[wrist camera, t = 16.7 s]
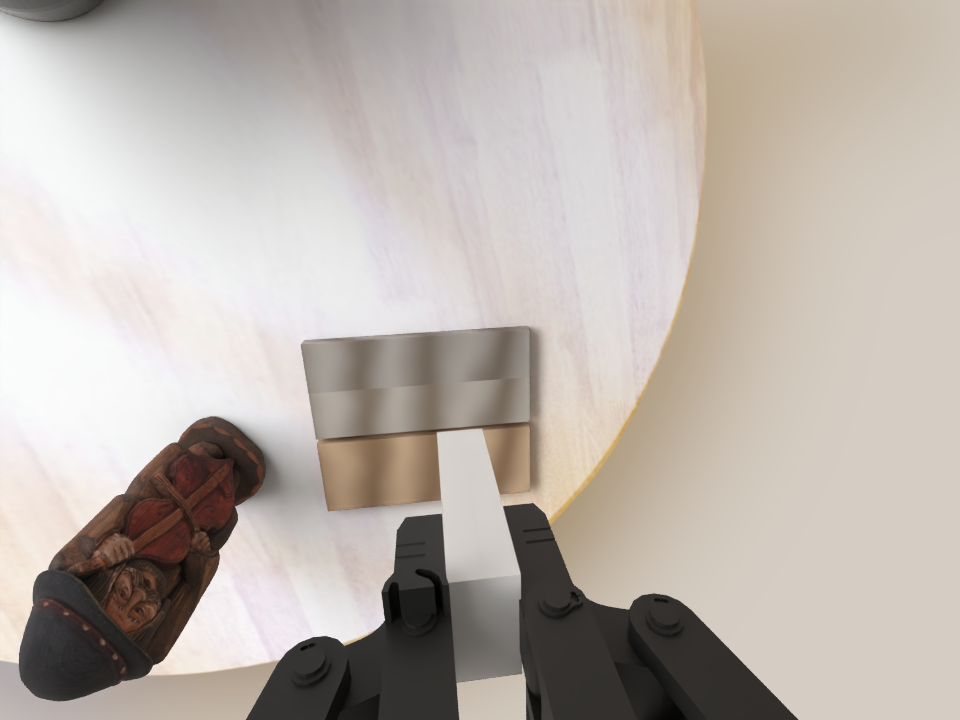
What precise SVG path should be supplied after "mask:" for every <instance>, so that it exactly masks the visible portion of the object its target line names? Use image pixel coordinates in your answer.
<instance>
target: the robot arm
mask: <svg viewBox="0 0 960 720" xmlns="http://www.w3.org/2000/svg"><path fill="white" fill-rule="evenodd" d="M102 1H103V0H0V11H2V12H5V13H7V14H10V15H13V16H17V17H20V18H24V19H30V20H37V21H59V20H65V19H70V18H73V17H77V16H79V15H82V14H84V13H86V12H88V11H90V10H91V9H93V8H94V7H96V6H97V5H99V4H100V3H101V2H102ZM437 442H438V457H439V472H440V488H441V503H442V514H435V515H425V516H416V517H406V518H405V519H404V521H403V522H402V524H401V526H400V527H399V529H398V530H397V538H396V552H395V565H394V573H393V574H392V575H391V576H390V578H389V579H388V580H387V581H386V582H385V584H384V587H383V590H382V600H383V608H384V616H385V621H384V623H383V624H382V625H381V626H380V627H379V628H378V629H377V630H376V631H374V632H373V633H372V634H370V635H368V636H366V637H365V638H363V639H361V640H358V641H356V642H353V643H351V644H349V645H346V646H344V645H343V644H342V643H341V642H340V641H339V640H338V639H334V638H331V637H327V636H322V637H313V638H310V639H308V640H305V641H303V642H300V643H298V644H297V645H296V646H294V647H293V648H292V649H290V650H289V651H288V652H287V653H286V654H285V655H284V656H283V658H282V659H281V660H280V661H279V663H278V664H277V666H276V668H275V670H274V671H273V673H272V675H271V676H270V678H269V680H268V682H267V684H266V686H265V687H264V689H263V691H262V693H261V695H260V696H259V698H258V700H257V701H256V703H255V705H254V707H253V708H252V710H251V712H250V714H249V715H248V717H247V719H246V720H459V712H458V699H457V686H456V683H458V682H465V681H473V680H480V679H487V678H495V677H502V676H509V675H516V674H522V664H523V668H524V673H525V677H526V720H798V719H797V718H796V717H795V716H794V715H793V714H792V713H791V712H790V711H789V710H788V709H787V708H786V707H785V706H784V705H783V704H782V703H781V701H780V700H779V699H778V698H777V697H776V696H775V695H774V694H773V693H772V692H771V691H770V690H769V689H768V688H767V687H766V686H765V685H764V684H763V683H762V682H761V681H760V680H759V679H758V678H757V677H756V676H755V675H754V674H753V673H752V672H751V671H750V670H749V669H748V668H747V667H746V666H745V665H744V664H743V663H742V662H741V661H740V660H739V658H738V657H737V656H736V655H735V654H734V653H733V652H732V651H731V650H730V649H729V648H728V647H727V646H726V645H725V644H724V643H723V642H722V641H721V640H720V639H719V638H718V637H717V636H716V635H715V634H714V633H713V632H712V631H711V630H710V629H709V628H708V627H707V626H706V625H705V624H704V623H703V622H702V621H701V620H700V619H699V618H698V617H697V616H696V615H695V614H694V612H693V611H692V610H690V609H689V608H688V607H687V606H685V605H684V604H683V603H681V602H680V601H679V600H676V599H674V598H671V597H669V596H667V595H660V594H648V595H642V596H640V597H639V598H638V599H636V600H634V601H633V603H632V605H631V607H630V609H629V610H626V609H620V608H614V607H608V606H604V605H600V604H597V603H595V602H593V601H590V600H589V599H587V598H586V597H585V595H584V594H583V592H582V591H581V590H580V589H578V588H577V587H576V586H574V584H573V583H572V581H571V578H570V576H569V573H568V571H567V568H566V565H565V563H564V560H563V558H562V555H561V553H560V550H559V548H558V545H557V543H556V541H555V538H554V535H553V532H552V530H551V528H550V525H549V522H548V520H547V517H546V515H545V513H544V512H542V511H541V510H540V509H539V508H538V507H537V506H536V505H535V504H534V503H531V504H521V505H511V506H503V505H502V502H501V498H500V494H499V490H498V487H497V483H496V479H495V475H494V471H493V468H492V464H491V460H490V456H489V453H488V449H487V445H486V441H485V437H484V434H483V430H482V429H470V430H458V431H446V432H437Z"/></svg>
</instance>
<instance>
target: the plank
mask: <svg viewBox="0 0 960 720" xmlns="http://www.w3.org/2000/svg"><path fill="white" fill-rule="evenodd" d="M470 429H482V430H483V434H484V437H485V441H486V445H487V449H488V453H489V456H490V460H491V464H492V468H493V471H494V475H495V479H496V483H497V487H498V490H499V494H507V493H517V492H527V491H530V426H529V424H528V422H516V423H504V424H492V425H480V426H469V427H457V428H445V429H433V430H421V431H409V432H398V433H386V434H374V435H362V436H350V437H339V438H327V439H319V441H318V444H317V448H318V454H319V460H320V466H321V472H322V478H323V484H324V491H325V497H326V503H327V509H328V511H335V510H345V509H355V508H366V507H376V506H386V505H396V504H406V503H416V502H426V501H436V500H441V488H440V472H439V457H438V442H437V432H446V431H458V430H470Z"/></svg>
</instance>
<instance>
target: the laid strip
mask: <svg viewBox="0 0 960 720" xmlns="http://www.w3.org/2000/svg"><path fill="white" fill-rule="evenodd" d="M301 350H302V356H303V362H304V368H305V374H306V380H307V386H308V393H309V399H310V405H311V411H312V417H313V423H314V429H315V435H316V439H327V438H339V437H350V436H362V435H374V434H386V433H398V432H409V431H421V430H433V429H445V428H457V427H469V426H480V425H492V424H504V423H516V422H528V421H530V330H529V328H528V327H527V326H519V327H504V328H488V329H473V330H457V331H442V332H426V333H411V334H396V335H380V336H365V337H349V338H334V339H318V340H304V341H303V343H302V344H301Z"/></svg>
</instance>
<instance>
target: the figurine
mask: <svg viewBox="0 0 960 720" xmlns="http://www.w3.org/2000/svg"><path fill="white" fill-rule="evenodd" d="M264 478H265V463H264V459H263V456H262V453H261V451H260V450H259V449H258V448H257V447H256V446H255V445H254V444H253V443H252V442H251V441H250V440H249V439H248V438H247V437H246V436H245V435H244V434H242V433H241V432H240V431H239V430H238V429H237V428H236V427H235V426H233V425H232V424H230V423H229V422H227V421H225V420H223V419H220V418H217V417H207V418H203V419H200V420H198V421H196V422H195V423H193V424H192V425H191V426H190V427H189V428H188V429H187V430H186V431H185V432H184V433H183V434H182V436H181V437H180V439H179V441H178V443H171V444H169V445H168V446H167V447H165V448H164V449H163V450H162V451H161V452H160V453H159V454H158V455H157V456H156V457H155V458H154V459H153V460H152V461H150V462H149V463H148V464H147V465H146V466H145V467H144V468H143V470H142V471H141V472H140V473H139V474H138V475H137V476H136V477H135V478H134V480H133V481H132V483H131V484H130V486H129V487H128V489H127V491H126V492H125V494H121V495H118V496H116V497H115V498H114V499H113V500H112V501H111V502H110V503H109V504H108V505H107V506H105V507H104V508H103V509H102V510H101V511H100V512H99V513H98V514H97V515H96V516H95V517H94V518H93V519H92V520H91V521H90V522H89V523H88V524H87V525H86V526H85V527H84V528H83V529H82V530H81V531H80V532H79V533H78V534H77V535H76V536H75V537H74V538H73V539H72V540H71V541H70V542H68V543H67V544H66V545H65V546H64V547H63V548H62V549H61V550H60V551H59V552H58V553H57V554H56V555H55V556H54V558H53V559H52V561H51V563H50V565H49V568H48V570H47V571H44V572H42V573H40V574H39V575H38V576H37V578H36V580H35V583H34V587H33V604H34V605H33V607H32V611H31V614H30V617H29V619H28V622H27V625H26V628H25V631H24V635H23V639H22V643H21V646H20V653H19V671H20V677H21V680H22V682H23V683H24V685H25V686H26V687H27V688H28V689H29V690H30V691H31V692H32V693H33V694H34V695H35V696H37V697H39V698H42V699H47V700H52V701H68V700H73V699H76V698H80V697H84V696H87V695H90V694H92V693H94V692H97V691H100V690H103V689H105V688H108V687H110V686H115V685H117V684H119V683H120V682H121V681H127V680H133V679H138V678H142V677H144V676H145V675H147V674H148V673H149V672H150V670H151V669H152V667H153V665H155V664H158V663H160V662H161V661H163V660H164V659H165V657H166V656H167V654H168V653H169V651H170V650H171V648H172V647H173V645H174V644H175V642H176V640H177V639H178V637H179V636H180V634H181V632H182V631H183V629H184V627H185V626H186V624H187V622H188V620H189V619H190V617H191V615H192V613H193V612H194V610H195V608H196V606H197V604H198V603H199V601H200V599H201V597H202V596H203V594H204V592H205V591H206V589H207V587H208V586H209V584H210V582H211V580H212V579H213V577H214V575H215V573H216V571H217V568H218V565H219V559H220V555H219V550H220V549H221V548H222V547H223V545H224V544H225V543H226V542H227V540H228V538H229V537H230V535H231V533H232V531H233V529H234V527H235V525H236V523H237V521H238V514H237V511H236V508H235V506H237V505H239V504H241V503H243V502H244V501H246V500H247V499H248V498H250V497H251V496H253V495H254V494H255V493H256V492H257V491H258V489H259V488H260V486H261V485H262V483H263V480H264Z"/></svg>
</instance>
